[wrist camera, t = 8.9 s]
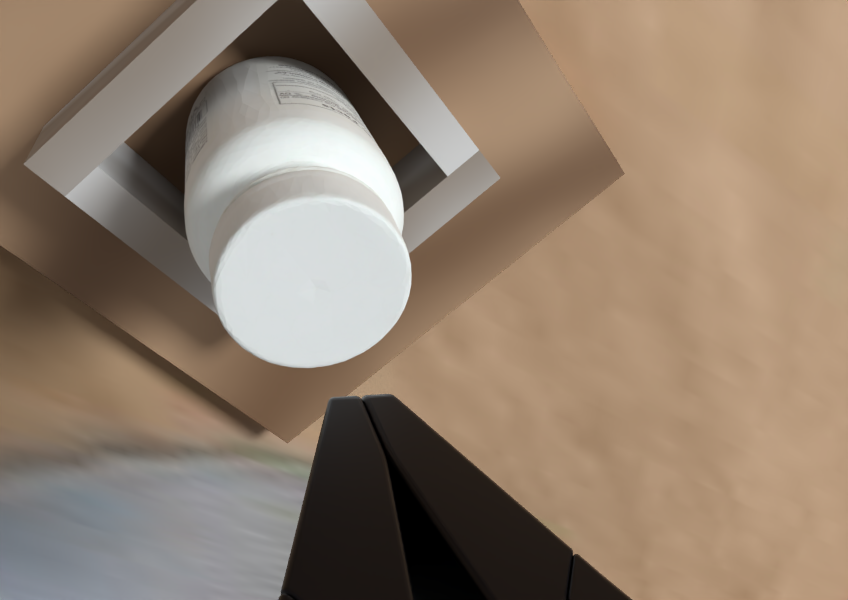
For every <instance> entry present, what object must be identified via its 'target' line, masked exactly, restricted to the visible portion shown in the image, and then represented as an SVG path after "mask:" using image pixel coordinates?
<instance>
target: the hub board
mask: <svg viewBox="0 0 848 600" xmlns="http://www.w3.org/2000/svg"><path fill="white" fill-rule="evenodd" d="M266 56H279V57H286V58H291V59H295V60H298V61H301V62H304V63H306V64H309V65H311V66H313V67H315V68H316V69H318V70H320V71H321V72H323V73H324V74H325V75H327V76H328V77H329V78H330V79H332V80H333V81H334V82H335V83H336V84H337V85H338V86H339V88H340V89H341V90H342V91H343V92H344V94H345V95H346V96H347V98H348V99H349V101H350V102H351V104H352V105H353V106H354V108H355V110H356V111H357V113H358V115H359V116H360V118H361V119H362V121H363V123H364V124H365V126H366V127H367V129H368V130H369V132H370V134H371V135H372V137H373V138H374V140H375V142H376V143H377V145H378V147H379V148H380V149H381V151H382V153H383V154H384V156H385V157H386V159H387V161H388V163H389V165H390V166H391V168H392V170H393V172H394V174H395V176H396V179H397V181H398V184H399V187H400V190H401V194H402V199H403V208H404V225H403V230H402V238H403V240H404V242H405V244H406V247H407V250H408V253H409V257H410V262H411V273H412V276H411V288H410V294H409V297H408V300H407V303H406V306H405V308H404V310H403V312H402V314H401V316H400V318H399V319H398V321H397V322H396V324H395V325H394V326H393V327H392V328H391V330H390V331H389V332H388V333H387V334H386V335H385V336H384V337H383V338H382V339H381V340H380V341H379V342H378V343H376V344H375V345H374V346H372V347H371V348H370V349H368V350H366V351H365V352H363V353H361V354H359V355H357V356H355V357H353V358H351V359H348V360H346V361H344V362H340V363H337V364H333V365H329V366H323V367H315V368H292V367H287V366H281V365H277V364H273V363H269V362H267V361H265V360H262V359H260V358H258V357H256V356H254V355H253V354H251V353H250V352H248V351H246V350H245V349H243V348H242V347H241V346H240V345H239V344H238V343H237V342H236V341H235V340H234V339H233V338H232V337H231V336H230V335H229V333H228V332H227V331H226V329H225V328H224V327H223V325H222V323H221V321H220V319H219V316H218V314H217V311H216V308H215V304H214V301H213V296H212V288H211V282H210V281H209V280H208V279H207V278H206V276H205V275H204V274H203V272H202V271H201V269H200V268H199V266H198V265H197V263H196V261H195V259H194V257H193V254H192V252H191V249H190V246H189V243H188V239H187V235H186V228H185V216H184V195H185V142H186V129H187V123H188V118H189V115H190V112H191V109H192V107H193V104H194V102H195V101H196V99H197V97H198V96H199V94H200V93H201V91H202V90H203V88H204V87H205V86H206V85H207V84H208V82H210V81H211V80H212V79H213V78H214V77H215V76H216V75H217V74H219V73H220V72H222V71H223V70H225V69H227V68H228V67H230V66H232V65H234V64H236V63H239V62H242V61H244V60H248V59H252V58H257V57H266ZM624 174H625V173H624V172H623V170H622V168H621V167H620V165H619V164H618V162H617V160H616V159H615V157H614V155H613V154H612V152H611V151H610V149H609V147H608V146H607V144H606V142H605V141H604V139H603V138H602V136H601V134H600V133H599V131H598V129H597V128H596V126H595V125H594V123H593V121H592V120H591V118H590V116H589V115H588V113H587V111H586V110H585V108H584V107H583V105H582V103H581V102H580V100H579V98H578V97H577V95H576V94H575V92H574V90H573V89H572V87H571V85H570V84H569V82H568V81H567V79H566V77H565V76H564V74H563V72H562V71H561V69H560V68H559V66H558V64H557V63H556V61H555V59H554V58H553V56H552V55H551V53H550V51H549V50H548V48H547V46H546V45H545V43H544V42H543V40H542V38H541V37H540V35H539V33H538V32H537V30H536V29H535V27H534V25H533V24H532V22H531V20H530V19H529V17H528V16H527V14H526V12H525V11H524V9H523V7H522V6H521V4H520V2H519V1H518V0H0V246H2V247H3V248H5V249H6V250H8V251H9V252H11V253H12V254H14V255H15V256H16V257H18V258H19V259H21V260H22V261H24V262H25V263H27V264H28V265H30V266H31V267H32V268H34V269H35V270H37V271H38V272H40V273H41V274H43V275H44V276H45V277H47V278H48V279H50V280H51V281H53V282H54V283H56V284H57V285H59V286H60V287H61V288H63V289H64V290H66V291H67V292H69V293H70V294H72V295H73V296H75V297H76V298H77V299H79V300H80V301H82V302H83V303H85V304H86V305H88V306H89V307H90V308H92V309H93V310H95V311H96V312H98V313H99V314H101V315H102V316H104V317H105V318H106V319H108V320H109V321H111V322H112V323H114V324H115V325H117V326H118V327H119V328H121V329H122V330H124V331H125V332H127V333H128V334H130V335H131V336H133V337H134V338H135V339H137V340H138V341H140V342H141V343H143V344H144V345H146V346H147V347H149V348H150V349H151V350H153V351H154V352H156V353H157V354H159V355H160V356H162V357H163V358H164V359H166V360H167V361H169V362H170V363H172V364H173V365H175V366H176V367H178V368H179V369H180V370H182V371H183V372H185V373H186V374H188V375H189V376H191V377H192V378H194V379H195V380H196V381H198V382H199V383H201V384H202V385H204V386H205V387H207V388H208V389H209V390H211V391H212V392H214V393H215V394H217V395H218V396H220V397H221V398H223V399H224V400H225V401H227V402H228V403H230V404H231V405H233V406H234V407H236V408H237V409H239V410H240V411H241V412H243V413H244V414H246V415H247V416H249V417H250V418H252V419H253V420H254V421H256V422H257V423H259V424H260V425H262V426H263V427H265V428H266V429H268V430H269V431H270V432H272V433H273V434H275V435H276V436H278V437H279V438H281V439H282V440H283V441H285V442H286V443H288V442H290V441H291V440H292V439H293V438H295V437H296V436H297V435H298V434H300V433H301V432H302V431H303V430H305V429H306V428H307V427H308V426H310V425H311V424H312V423H313V422H315V421H316V420H317V419H318V418H320V417H321V416H322V415H323V414H325V412H326V408H327V404H328V401H329V399H330V398H332V397H343V396H347V395H348V394H350V393H351V392H352V391H353V390H355V389H356V388H357V387H358V386H360V385H361V384H362V383H363V382H365V381H366V380H367V379H368V378H370V377H371V376H372V375H373V374H375V373H376V372H377V371H378V370H380V369H381V368H382V367H383V366H385V365H386V364H387V363H388V362H390V361H391V360H392V359H393V358H395V357H396V356H397V355H398V354H400V353H401V352H402V351H403V350H405V349H406V348H407V347H408V346H410V345H411V344H412V343H413V342H415V341H416V340H417V339H418V338H420V337H421V336H422V335H423V334H425V333H426V332H427V331H428V330H430V329H431V328H432V327H433V326H435V325H436V324H437V323H438V322H440V321H441V320H442V319H443V318H445V317H446V316H447V315H448V314H450V313H451V312H452V311H453V310H455V309H456V308H457V307H458V306H460V305H461V304H462V303H464V302H465V301H466V300H467V299H469V298H470V297H471V296H472V295H474V294H475V293H476V292H477V291H479V290H480V289H481V288H482V287H484V286H485V285H486V284H487V283H489V282H490V281H491V280H492V279H494V278H495V277H496V276H497V275H499V274H500V273H501V272H502V271H504V270H505V269H506V268H507V267H509V266H510V265H511V264H512V263H514V262H515V261H516V260H517V259H519V258H520V257H521V256H522V255H524V254H525V253H526V252H527V251H529V250H530V249H531V248H532V247H534V246H535V245H536V244H537V243H539V242H540V241H541V240H542V239H544V238H545V237H546V236H547V235H549V234H550V233H551V232H552V231H554V230H555V229H556V228H557V227H559V226H560V225H561V224H562V223H564V222H565V221H566V220H567V219H569V218H570V217H571V216H572V215H574V214H575V213H576V212H577V211H579V210H580V209H581V208H582V207H584V206H585V205H586V204H587V203H589V202H590V201H591V200H592V199H594V198H595V197H596V196H597V195H599V194H600V193H601V192H602V191H604V190H605V189H606V188H607V187H609V186H610V185H611V184H612V183H614V182H615V181H616V180H617V179H619V178H620V177H621V176H622V175H624Z"/></svg>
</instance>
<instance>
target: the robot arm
mask: <svg viewBox="0 0 848 600" xmlns="http://www.w3.org/2000/svg"><path fill="white" fill-rule="evenodd" d="M279 600H632V599H631V598H630V597H628V596H627V595H626V594H625V593H623V592H622V591H621V590H620V589H619V588H617V587H616V586H615V585H614V584H613V583H611V582H610V581H609V580H608V579H606V578H605V577H604V576H603V575H602V574H600V573H599V572H598V571H597V570H596V569H595V568H593V567H592V566H591V565H590V564H589V563H588V562H587V561H585V560H584V559H583V558H582V557H581V556H580V555H578V554H575V555H573V550H572V549H571V548H570V547H569V546H568V545H566V544H565V543H564V542H563V541H562V540H561V539H560V538H558V537H557V536H556V535H555V534H554V533H553V532H551V531H550V530H549V529H548V528H547V527H546V526H544V525H543V524H542V523H541V522H540V521H539V520H538V519H536V518H535V517H534V516H533V515H532V514H531V513H529V512H528V511H527V510H526V509H525V508H524V507H522V506H521V505H520V504H519V503H518V502H517V501H516V500H514V499H513V498H512V497H511V496H510V495H509V494H507V493H506V492H505V491H504V490H503V489H502V488H500V487H499V486H498V485H497V484H496V483H495V482H494V481H492V480H491V479H490V478H489V477H488V476H487V475H485V474H484V473H483V472H482V471H481V470H480V469H478V468H477V467H476V466H475V465H474V464H473V463H472V462H470V461H469V460H468V459H467V458H466V457H465V456H463V455H462V454H461V453H460V452H459V451H458V450H456V449H455V448H454V447H453V446H452V445H451V444H450V443H448V442H447V441H446V440H445V439H444V438H443V437H441V436H440V435H439V434H438V433H437V432H436V431H434V430H433V429H432V428H431V427H430V426H429V425H428V424H426V423H425V422H424V421H423V420H422V419H421V418H419V417H418V416H417V415H416V414H415V413H414V412H412V411H411V410H410V409H409V408H408V407H407V406H406V405H404V404H403V403H402V402H401V401H400V400H399V399H397V398H396V397H395V396H393V395H391V394H379V395H366V396H364V397H362V398H359V397H358V396H343V397H332V398H330V399H329V401H328V404H327V408H326V412H325V416H324V420H323V424H322V428H321V432H320V436H319V440H318V444H317V448H316V452H315V456H314V460H313V464H312V468H311V472H310V476H309V480H308V484H307V488H306V492H305V497H304V501H303V505H302V509H301V513H300V517H299V521H298V525H297V529H296V533H295V537H294V541H293V545H292V549H291V553H290V557H289V561H288V565H287V569H286V573H285V577H284V581H283V585H282V589H281V596H280V597H279Z"/></svg>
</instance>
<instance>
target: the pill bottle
mask: <svg viewBox="0 0 848 600" xmlns="http://www.w3.org/2000/svg"><path fill="white" fill-rule="evenodd" d="M184 216H185V228H186V235H187V239H188V243H189V246H190V249H191V252H192V254H193V257H194V259H195V261H196V263H197V265H198V266H199V268H200V269H201V271H202V272H203V274H204V275H205V276H206V278H207V279H208V280H209V281H210V282H211V288H212V296H213V301H214V304H215V308H216V311H217V314H218V316H219V319H220V321H221V323H222V325H223V327H224V328H225V329H226V331H227V332H228V333H229V335H230V336H231V337H232V338H233V339H234V340H235V341H236V342H237V343H238V344H239V345H240V346H241V347H242V348H243V349H245V350H246V351H248V352H250V353H251V354H253V355H254V356H256V357H258V358H260V359H262V360H265V361H267V362H269V363H273V364H277V365H281V366H287V367H292V368H315V367H323V366H329V365H333V364H337V363H340V362H344V361H346V360H348V359H351V358H353V357H355V356H357V355H359V354H361V353H363V352H365V351H366V350H368V349H370V348H371V347H372V346H374V345H375V344H376V343H378V342H379V341H380V340H381V339H382V338H383V337H384V336H385V335H386V334H387V333H388V332H389V331H390V330H391V328H392V327H393V326H394V325H395V324H396V322H397V321H398V319H399V318H400V316H401V314H402V312H403V310H404V308H405V306H406V303H407V300H408V297H409V294H410V288H411V276H412V273H411V262H410V257H409V253H408V250H407V247H406V244H405V242H404V240H403V238H402V230H403V225H404V208H403V199H402V194H401V190H400V187H399V184H398V181H397V179H396V176H395V174H394V172H393V170H392V168H391V166H390V165H389V163H388V161H387V159H386V157H385V156H384V154H383V153H382V151H381V149H380V148H379V147H378V145H377V143H376V142H375V140H374V138H373V137H372V135H371V134H370V132H369V130H368V129H367V127H366V126H365V124H364V123H363V121H362V119H361V118H360V116H359V115H358V113H357V111H356V110H355V108H354V106H353V105H352V104H351V102H350V101H349V99H348V98H347V96H346V95H345V94H344V92H343V91H342V90H341V89H340V88H339V86H338V85H337V84H336V83H335V82H334V81H333V80H332V79H330V78H329V77H328V76H327V75H325V74H324V73H323V72H321V71H320V70H318V69H316V68H315V67H313V66H311V65H309V64H306V63H304V62H301V61H298V60H295V59H291V58H286V57H279V56H266V57H257V58H252V59H248V60H244V61H242V62H239V63H236V64H234V65H232V66H230V67H228V68H227V69H225V70H223V71H222V72H220V73H219V74H217V75H216V76H215V77H214V78H213V79H212V80H211V81H210V82H208V84H207V85H206V86H205V87H204V88H203V90H202V91H201V93H200V94H199V96H198V97H197V99H196V101H195V102H194V104H193V107H192V109H191V112H190V115H189V118H188V123H187V129H186V142H185V195H184Z"/></svg>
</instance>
